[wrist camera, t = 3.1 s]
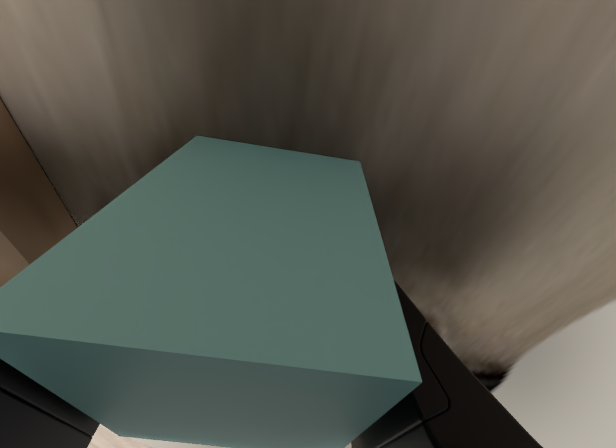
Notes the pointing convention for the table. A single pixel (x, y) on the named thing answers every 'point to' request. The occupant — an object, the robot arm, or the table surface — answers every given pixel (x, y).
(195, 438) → the teal block
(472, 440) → the robot arm
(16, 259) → the base plinth
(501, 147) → the table surface
